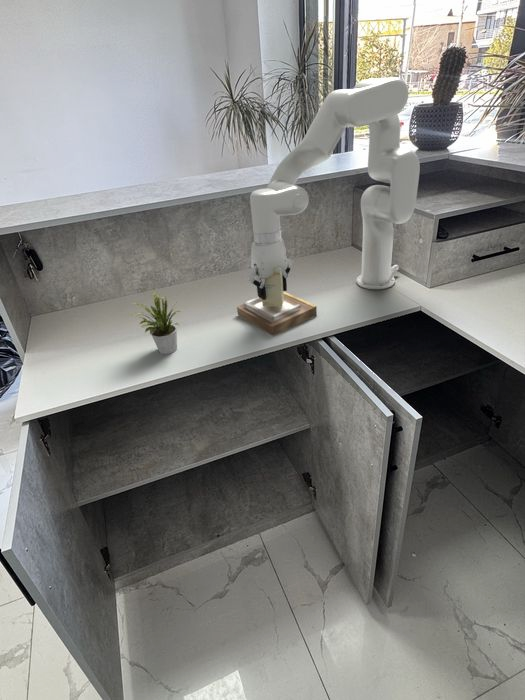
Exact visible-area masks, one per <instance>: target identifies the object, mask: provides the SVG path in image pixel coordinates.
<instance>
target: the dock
mask: <svg viewBox="0 0 525 700" xmlns="http://www.w3.org/2000/svg"><path fill="white" fill-rule="evenodd" d="M283 293H284V302H283V305H282V306H263V304H262V299H261V298H259V297H254V298H252V299H250V300H247V301H244V302H243V303H242V304H240V305H238V306H236V310H237V311H236V312H237V316H239V317H240V318H242V319H243V320H245V321H247V322H248V323H250V324H252V325H254V326H256V327H257V328H259V329H261V330H262V331H264V332H266V333H267V334H269V335H271V336H273V337H274V336H275V335H277V334H280V333H282V332H284V331H286V330H289V329H291V328H293V327H295V326H297V325H300V324H302V323H303V322H305V321H307V320H311V319H312V318H314V317H316V316H318V315H317V314H318V313H317V309H318V308H317V305H315V304H312V303H311V302H308V301H306V300H304V299H302V298H301V297H298V296H296V295H293V294H291V293H289V292H287V291H283Z"/></svg>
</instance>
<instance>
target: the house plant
mask: <svg viewBox="0 0 525 700" xmlns="http://www.w3.org/2000/svg"><path fill="white" fill-rule="evenodd" d="M152 294H153V302H154V306H153V305H150V308H151V310H150V309H149V307H147V306H146V305H144V304H141V303H137V302H133V304H135V305H138V306H140V307H142V309H144V310H145V311H146V312H148V313H147V314H148V315H147V314H146V313H145V312H143V316H145V317H142V316H139V315H140V314H142V312H135V313H132V314H131V316H133V315H136V317H138V318H140V319H142V320H141V321H140V322H139V325H140V327H141V328H142V329H143V328H145V331H144V333H147V332H148V331H149V335H150V336H152V337H151V338H152V340H153V341H154V343H155V346H156V348H157V349H158V352H159V353H160V354H162V355H170V354H173V353H174V352H176V351H177V350H178V336H177V335H178V334H177V333H178V332H177V331H178V330H177V327H176V325H177V326H180V325H179V323H178V322H176V323H174V324H172V323H173V320H171V319H172V318H173V317H174V316H175V315H176V314H177V313H178V312H181V311H180V310H176V309H177V307H175V305H176V304H177V302H175V303H174V305H173V307H172V308H171V310H170V311H169V313H168V299H167V297H166V296H165V298H164V296H163V295H161V294H159V295H158V296H157V294H156V292H155V291H153V293H152ZM160 296H161V298H160ZM161 307H162V309H161ZM174 307H175V308H174ZM173 310H176V311H174V312H173ZM172 312H173V313H172ZM150 317H151V318H150ZM152 318H153V319H154V320H155V321H154V320H153V319H152ZM141 324H142V325H141Z"/></svg>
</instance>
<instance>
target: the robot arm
mask: <svg viewBox="0 0 525 700" xmlns="http://www.w3.org/2000/svg"><path fill="white" fill-rule="evenodd" d="M409 94H410V93H409V88H408V85H407V83H406V82H405V80H403V79H402V78H400V77H378V78H377V77H376V78H375V77H374V78H367V79H366V78H365V79H363V80H360V81H359V82H357V83H356V84H355V86H354V87H353V88H342V89H335V90H333V91H330V93H328V94H327V96H326V97H325V98H324V100H323V102H322V104H321V106H320V108H319V109H318V111H317V113H316V115H315V116H314V119H313V120H312V123H311V124H310V126H309V128H308V130H307V132H306V134H305V136H303V139H302V140H301V141H300V143H299V144H298V145H296V146H295V147H294V148H293V149H292V151H290V152H289V153H288V154H287V155H286V156H285V157H284V158H283V159H282V160H281V162H280V163H279V164H278V166H277V167H276V169H275V170H274V171H273V174H272V176H271V178H270V179H269V182H268V184H267V187H266V188H260V189H259V188H258V189H256V190H253V191H252V192H250V195H249V202H250V212H251V213H250V214H251V221H252V230H253V240H254V242H252V243H251V253H250V256H251V258H250V259H251V261H250V263H251V264H250V265H251V266H250V267H251V270H250V272H249V273H248V274H247V276H246V280H248V281H249V282H250V283H251V284H252V285H254V286H255V287H256V291H257V296H258V297H259V298H261V299H263V300H266V289H265V287H263V286H264V283H265V279H266V278H268V277H271V276H273V269H274V268H277V267H279V266H281V272H282V276H283V291H285V292H287V290H288V287H287V279H288V277H289V273H290V271H291V268H292V265H294V261H292V260H291V259H289V258H287V251H286V247H285V241H284V239H283V237H282V233H283V232H284V228H283V227H281V220H280V219H281V218H280V217H283V216H294V215H299V214H301V213H302V212H304V211H305V210H306V208H307V207H308V205H309V203H310V196H309V194H308V192H307V191H306V189H304V187H302V186H299V185H296V182H297V181H298V179H299V178H300V177H301V176H302V175H303V174H304V173H305V172H307V171H308V170H309V169H311V168H313V167H315V166H316V167H317V166H318V165H320V164H322V163H324V162H325V161H328V160H329V158H330V157H331V155H332V153H333V152H334V150H335V149H336V147H337V144H338V142H339V141H340V139H341V138H342V135H343V134H344V132H345V130H346V128H348V127H349V128H362V127H365V126H368V131H369V133H368V134H369V141H368V143H369V144H368V158H367V173H368V176H369V177H370V178H371V179H373V180H375V181H377V182H381V183H386V184H389V185H390V186H386V185H382V184H375V185H370V186H369V187H367V188H366V189H365V190H364V191H363V193H362V195H361V198H360V210H361V211H360V212H361V217H362V246H361V247H362V248H361V250H362V251H361V274H359V276H357V277H356V283H357V285H358V286H360V287H361V288H363V289H368V290H384V289H388V288H390V287H393V286H394V284H395V281H396V279H395V276H393V273H394V272H396V271H399V269H400V266H399V265H398V264H394V265H392V259H393V257H392V256H393V245H394V244H393V243H394V225H393V224H396V225H401V224H404V223H407V222H408V221H409V220H410V219H411V217H412V216H413V214H414V211H415V208H416V204H417V196H418V188H419V182H420V181H419V180H420V169H421V166H420V165H421V164H420V160H419V157H418V155H417V154H416V152H414V151H413V150H411V149H408V148H402V147H400V143H401V142H400V141H401V123H400V119H399V115H398V114H399V113H400V112H402V111H403V109H405V106H406V104H407V103H408V100H409ZM255 276H256V278H255ZM260 278H261V281H260Z"/></svg>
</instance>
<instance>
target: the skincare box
mask: <svg viewBox="0 0 525 700" xmlns="http://www.w3.org/2000/svg"><path fill="white" fill-rule="evenodd" d="M260 281H261V278H260ZM263 287H265V289H266V300H263V299H262V304H263V306H282V305H283V302H284V293H283V276H282V272H281V266H279V267H277V268H274V269H273V276H271V277H268V278H266V279H265V283H264V286H263Z"/></svg>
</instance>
